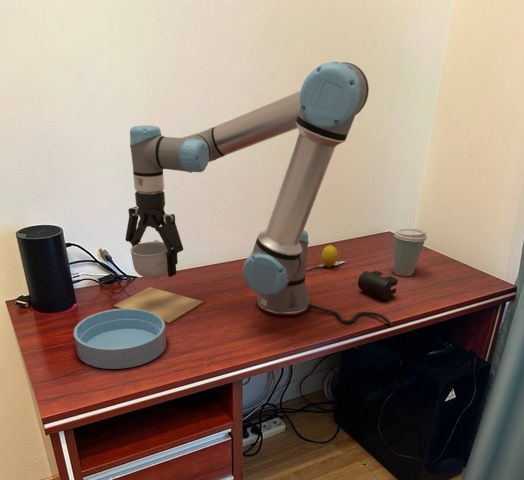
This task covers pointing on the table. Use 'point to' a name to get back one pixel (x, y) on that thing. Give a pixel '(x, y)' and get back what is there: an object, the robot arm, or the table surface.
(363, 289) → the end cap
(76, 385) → the table surface
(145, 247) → the teacup
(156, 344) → the bowl
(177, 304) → the placemat
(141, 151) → the robot arm
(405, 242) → the disposable coffee cup
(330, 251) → the lemon
